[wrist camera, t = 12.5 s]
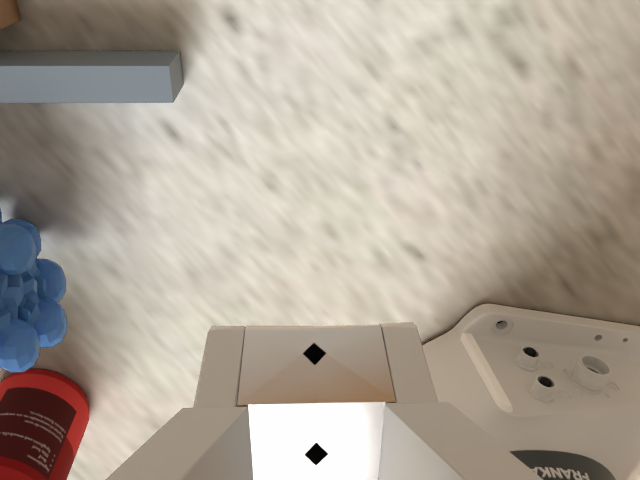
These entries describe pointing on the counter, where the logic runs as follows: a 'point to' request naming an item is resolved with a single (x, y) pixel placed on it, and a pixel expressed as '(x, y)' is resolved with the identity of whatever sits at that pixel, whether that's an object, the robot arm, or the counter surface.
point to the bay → (90, 76)
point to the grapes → (27, 297)
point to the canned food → (40, 425)
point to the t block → (8, 13)
